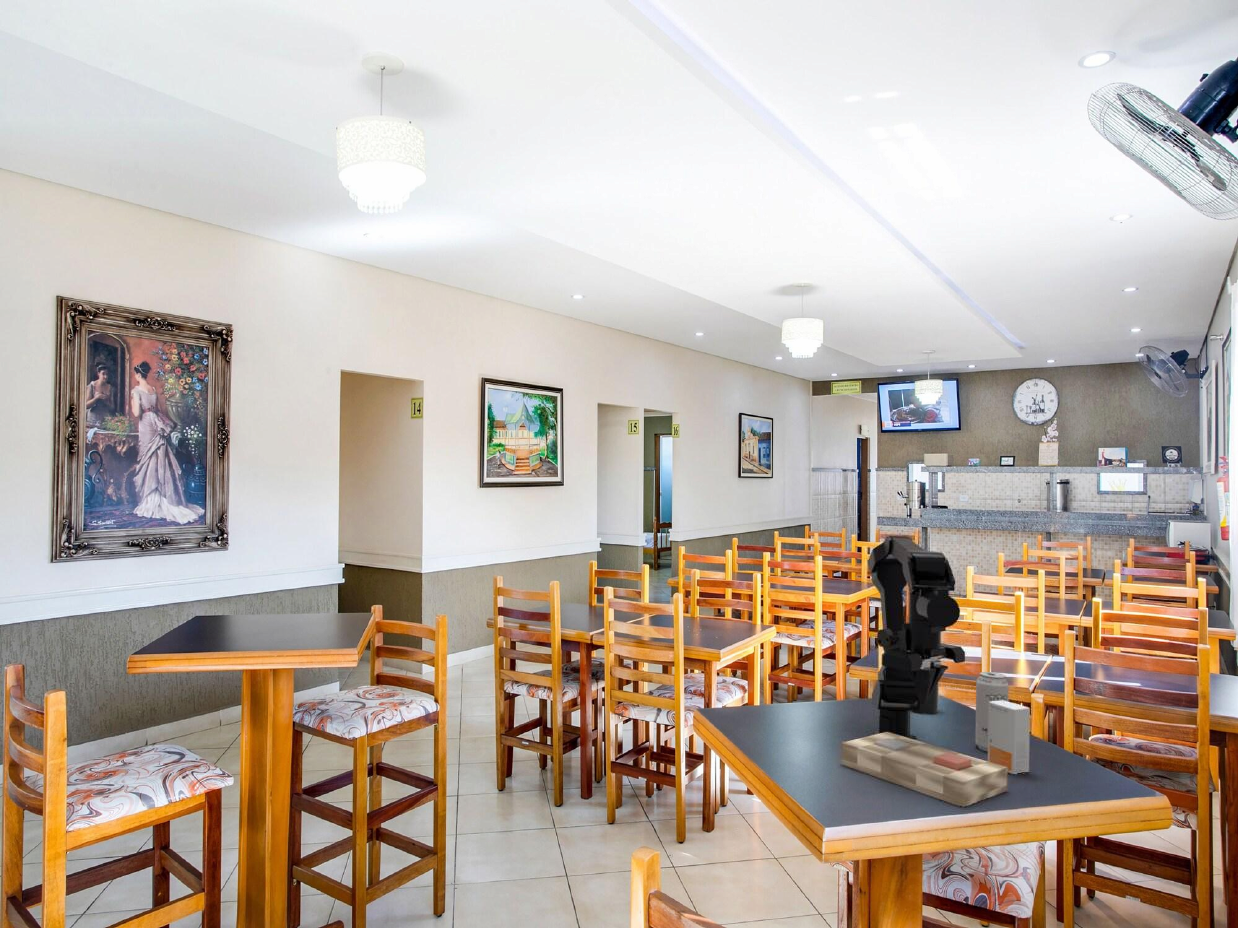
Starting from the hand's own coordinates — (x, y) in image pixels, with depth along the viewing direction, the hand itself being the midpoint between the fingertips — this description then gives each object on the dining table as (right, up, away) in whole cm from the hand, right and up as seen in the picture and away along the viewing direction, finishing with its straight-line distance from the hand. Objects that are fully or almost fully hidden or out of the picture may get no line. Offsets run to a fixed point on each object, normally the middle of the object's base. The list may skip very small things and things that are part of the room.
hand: (923, 702), depth 147 cm
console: (-3, -12, -6) cm, 13 cm away
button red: (+1, -10, -11) cm, 15 cm away
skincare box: (+16, -13, 0) cm, 21 cm away
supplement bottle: (+16, -15, +41) cm, 47 cm away
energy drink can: (+19, -13, +12) cm, 26 cm away
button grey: (-6, -11, -1) cm, 12 cm away
